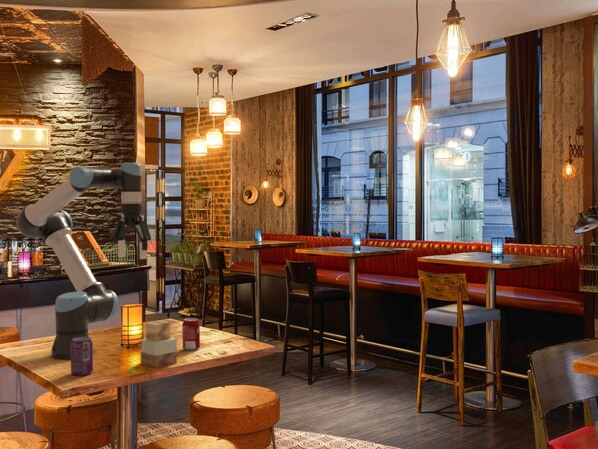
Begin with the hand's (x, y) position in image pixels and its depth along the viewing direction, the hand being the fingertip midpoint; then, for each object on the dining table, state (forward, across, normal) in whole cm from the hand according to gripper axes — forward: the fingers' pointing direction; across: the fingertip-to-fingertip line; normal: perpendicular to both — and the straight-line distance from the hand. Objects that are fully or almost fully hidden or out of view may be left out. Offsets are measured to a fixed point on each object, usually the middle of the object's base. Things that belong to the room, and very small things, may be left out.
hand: (132, 258), depth 241 cm
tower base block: (+37, -21, +4) cm, 43 cm away
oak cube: (+28, -21, +4) cm, 35 cm away
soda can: (+37, -14, -17) cm, 43 cm away
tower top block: (+32, -21, +4) cm, 39 cm away
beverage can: (+37, -11, +30) cm, 49 cm away
